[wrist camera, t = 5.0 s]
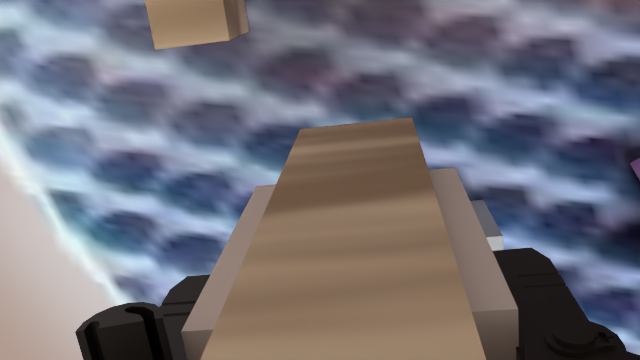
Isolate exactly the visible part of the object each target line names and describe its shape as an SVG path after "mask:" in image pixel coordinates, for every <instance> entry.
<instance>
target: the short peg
mask: <svg viewBox="0 0 640 360" xmlns="http://www.w3.org/2000/svg"><path fill="white" fill-rule="evenodd" d="M145 3H146V8H147V13H148V18H149V23H150V27H151V32H152V37H153V42H154V47H155V49H163V48H172V47H180V46H188V45H196V44H204V43H212V42H220V41H229V40H231V39H234V38H236V37H238V36H240V35H242V34H244V33H246V32H248V31H249V25H248V19H247V13H246V6H245V0H145Z"/></svg>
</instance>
